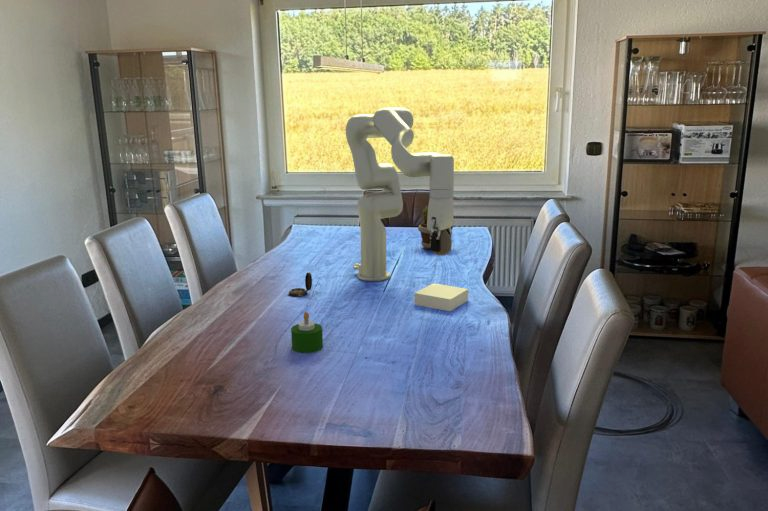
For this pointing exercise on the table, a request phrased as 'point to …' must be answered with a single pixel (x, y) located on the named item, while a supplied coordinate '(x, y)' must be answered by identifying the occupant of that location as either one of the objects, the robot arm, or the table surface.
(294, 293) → the compass
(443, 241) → the vase
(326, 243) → the table surface
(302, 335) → the candle
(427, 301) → the plinth
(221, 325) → the table surface
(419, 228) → the flowerpot
